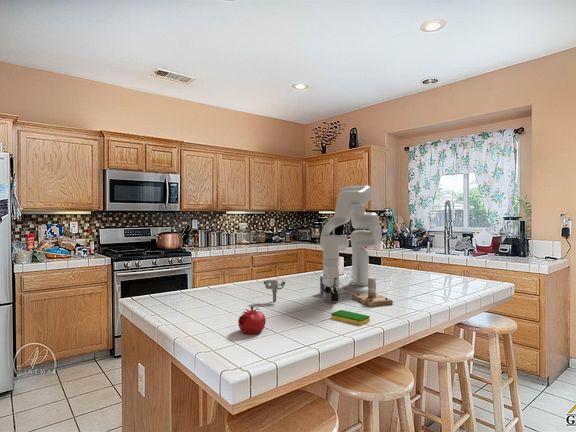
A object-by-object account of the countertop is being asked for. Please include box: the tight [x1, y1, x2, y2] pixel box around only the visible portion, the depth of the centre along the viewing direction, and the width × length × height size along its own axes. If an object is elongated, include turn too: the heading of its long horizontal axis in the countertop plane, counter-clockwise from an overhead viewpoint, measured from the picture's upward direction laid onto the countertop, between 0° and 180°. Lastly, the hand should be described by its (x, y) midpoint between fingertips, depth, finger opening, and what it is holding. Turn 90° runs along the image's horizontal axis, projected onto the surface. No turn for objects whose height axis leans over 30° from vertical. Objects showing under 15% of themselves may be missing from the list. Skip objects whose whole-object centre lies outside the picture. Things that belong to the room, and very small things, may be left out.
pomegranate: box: [237, 305, 267, 335], centre depth 130 cm, size 10×10×9 cm
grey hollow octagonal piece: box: [322, 290, 340, 304], centre depth 172 cm, size 7×7×4 cm
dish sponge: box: [330, 309, 371, 326], centre depth 143 cm, size 7×14×2 cm, turn 47°
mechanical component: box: [263, 279, 286, 303], centre depth 171 cm, size 3×10×10 cm, turn 79°
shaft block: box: [352, 277, 394, 307], centre depth 171 cm, size 16×12×11 cm
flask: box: [319, 276, 335, 295], centre depth 187 cm, size 9×3×11 cm, turn 65°
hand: (331, 298), depth 172 cm, fingers closed on grey hollow octagonal piece, 7 cm apart
